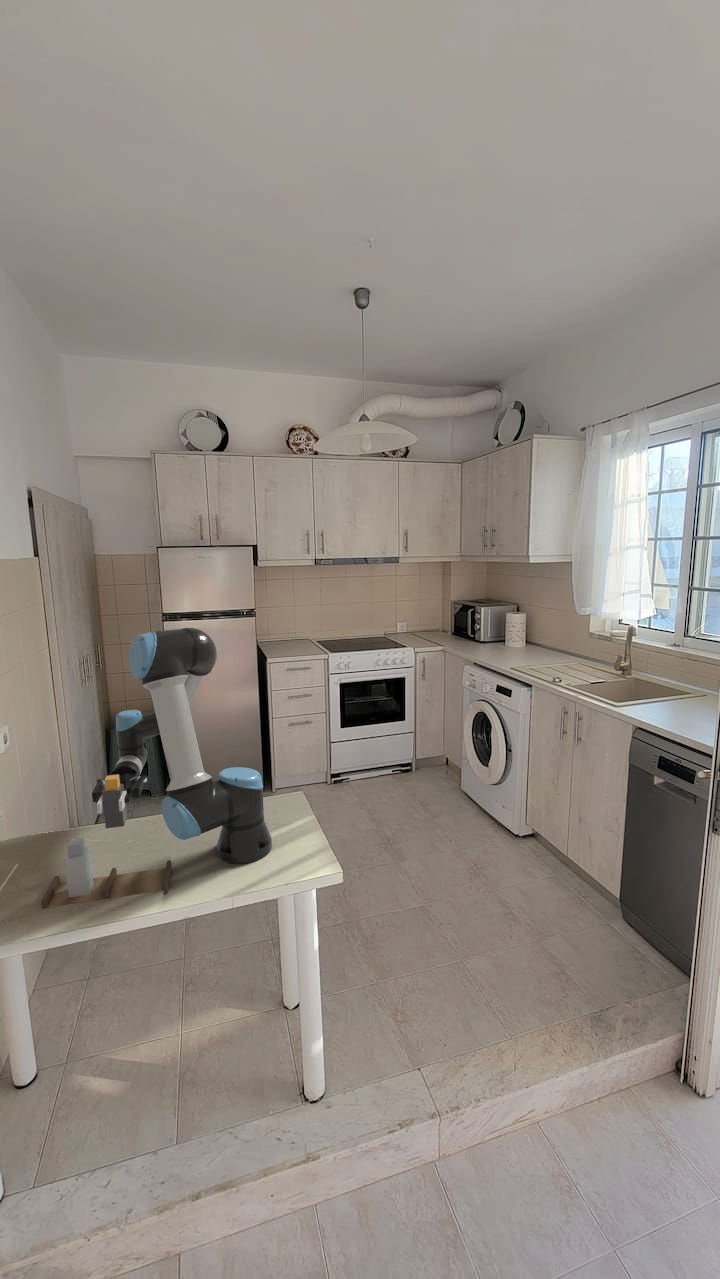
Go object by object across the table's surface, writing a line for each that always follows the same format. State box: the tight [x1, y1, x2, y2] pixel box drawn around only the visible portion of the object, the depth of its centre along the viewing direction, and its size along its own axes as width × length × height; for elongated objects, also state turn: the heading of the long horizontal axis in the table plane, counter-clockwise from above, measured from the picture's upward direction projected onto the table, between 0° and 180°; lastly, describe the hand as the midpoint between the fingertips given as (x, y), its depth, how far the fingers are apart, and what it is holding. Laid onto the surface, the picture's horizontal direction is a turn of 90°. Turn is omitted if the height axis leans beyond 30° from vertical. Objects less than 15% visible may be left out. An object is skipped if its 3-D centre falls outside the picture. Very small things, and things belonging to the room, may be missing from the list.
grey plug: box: [63, 837, 94, 898], centre depth 135 cm, size 4×4×13 cm
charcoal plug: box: [102, 774, 128, 829], centre depth 146 cm, size 4×4×13 cm
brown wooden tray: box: [41, 859, 173, 909], centre depth 137 cm, size 28×10×3 cm, turn 103°
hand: (109, 807), depth 141 cm, fingers closed on charcoal plug, 4 cm apart
